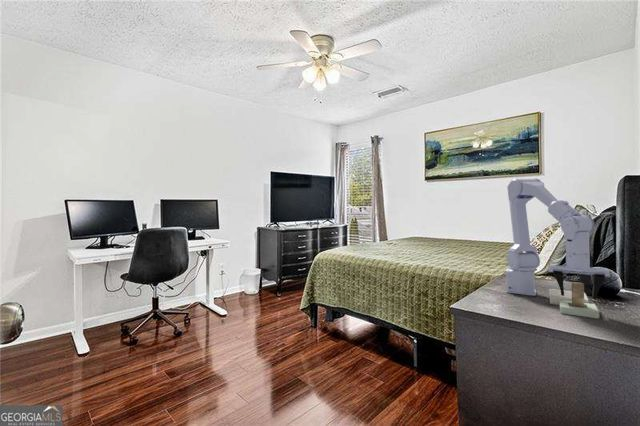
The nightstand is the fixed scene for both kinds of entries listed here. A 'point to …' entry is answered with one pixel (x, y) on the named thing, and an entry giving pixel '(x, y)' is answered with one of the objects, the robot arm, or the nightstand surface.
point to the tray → (556, 296)
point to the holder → (579, 309)
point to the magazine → (587, 279)
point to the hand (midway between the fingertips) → (578, 296)
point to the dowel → (577, 294)
